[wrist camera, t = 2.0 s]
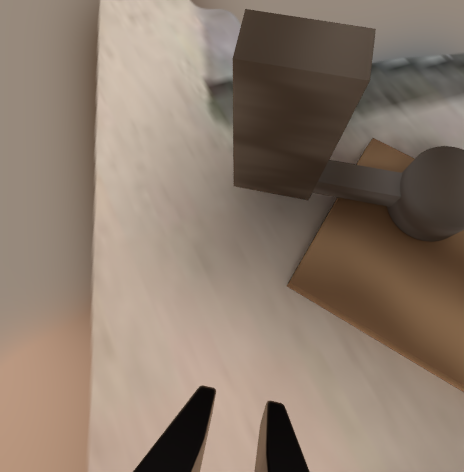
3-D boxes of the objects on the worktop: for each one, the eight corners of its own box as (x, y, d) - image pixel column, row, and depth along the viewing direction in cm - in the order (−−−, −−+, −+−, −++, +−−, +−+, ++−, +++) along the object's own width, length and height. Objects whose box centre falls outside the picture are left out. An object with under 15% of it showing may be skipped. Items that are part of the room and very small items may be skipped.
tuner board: (491, 408, 21) (518, 415, 19) (286, 286, 23) (291, 280, 21) (552, 244, 24) (581, 235, 22) (365, 149, 26) (376, 132, 24)
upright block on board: (534, 189, 23) (783, 63, 13) (538, 262, 22) (821, 187, 11) (244, 138, 24) (251, -16, 14) (229, 203, 23) (225, 87, 13)
